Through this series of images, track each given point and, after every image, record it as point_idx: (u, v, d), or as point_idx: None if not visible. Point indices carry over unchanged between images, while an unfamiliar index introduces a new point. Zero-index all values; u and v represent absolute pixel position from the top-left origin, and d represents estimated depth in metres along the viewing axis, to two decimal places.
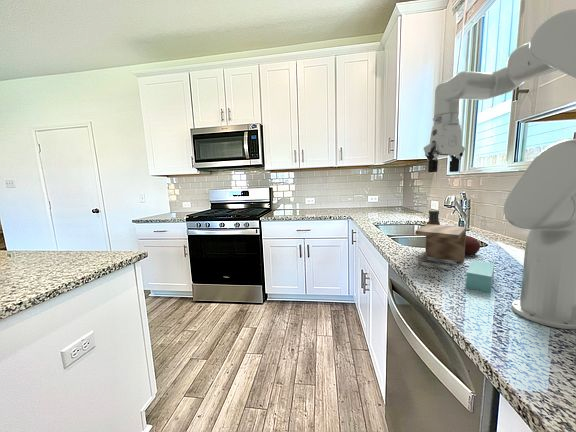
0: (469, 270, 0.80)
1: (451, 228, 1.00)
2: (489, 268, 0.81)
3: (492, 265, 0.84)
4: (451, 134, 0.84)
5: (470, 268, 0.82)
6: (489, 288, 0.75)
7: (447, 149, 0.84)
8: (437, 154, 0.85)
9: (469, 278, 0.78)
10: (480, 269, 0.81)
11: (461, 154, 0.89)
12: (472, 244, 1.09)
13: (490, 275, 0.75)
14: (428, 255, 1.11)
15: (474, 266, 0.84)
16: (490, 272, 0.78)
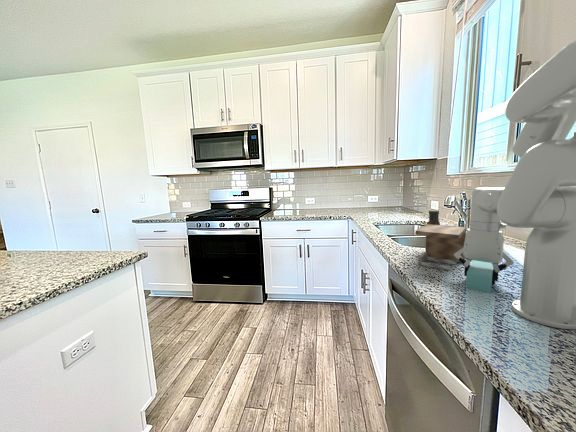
0: (469, 270, 0.80)
1: (451, 228, 1.00)
2: (489, 268, 0.81)
3: (492, 265, 0.84)
4: None
5: (470, 268, 0.82)
6: (489, 288, 0.75)
7: None
8: None
9: (469, 278, 0.78)
10: (480, 269, 0.81)
11: None
12: None
13: (490, 275, 0.75)
14: (428, 255, 1.11)
15: (474, 266, 0.84)
16: (490, 272, 0.78)
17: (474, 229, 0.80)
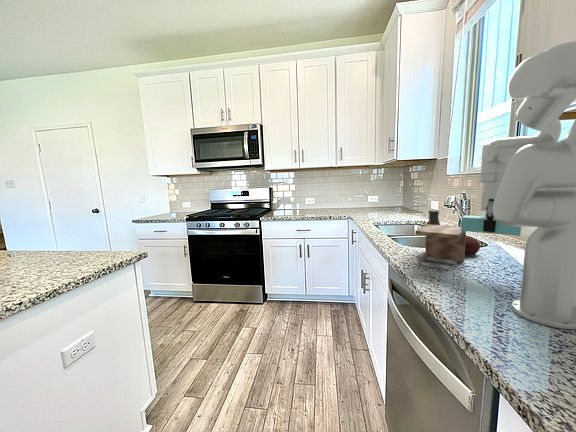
0: None
1: (451, 228, 1.00)
2: None
3: (475, 216, 0.94)
4: None
5: None
6: None
7: None
8: None
9: None
10: None
11: None
12: (472, 244, 1.09)
13: None
14: (428, 255, 1.11)
15: None
16: None
17: None
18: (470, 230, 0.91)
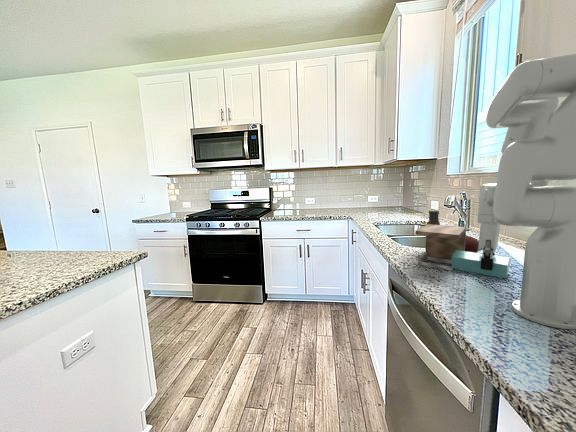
0: (498, 263, 0.86)
1: (451, 228, 1.00)
2: (479, 254, 0.93)
3: (466, 252, 0.97)
4: None
5: None
6: (508, 267, 0.89)
7: None
8: None
9: (507, 269, 0.85)
10: None
11: None
12: (472, 244, 1.09)
13: (505, 257, 0.89)
14: (428, 255, 1.11)
15: (478, 259, 0.91)
16: (494, 256, 0.91)
17: None
18: (460, 268, 0.95)
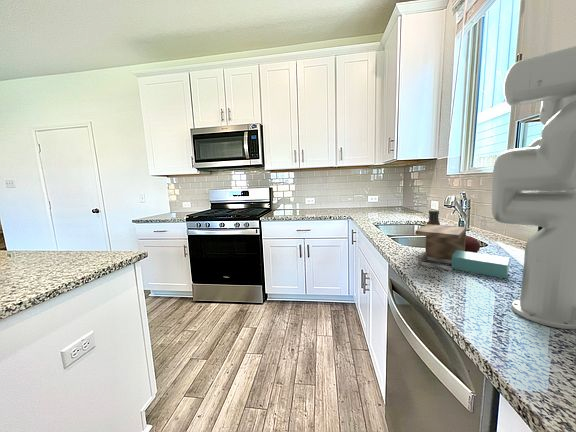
0: (498, 263, 0.86)
1: (451, 228, 1.00)
2: (479, 254, 0.93)
3: (466, 252, 0.97)
4: None
5: (489, 261, 0.88)
6: (508, 267, 0.89)
7: None
8: None
9: (507, 269, 0.85)
10: (488, 258, 0.90)
11: None
12: (472, 244, 1.09)
13: (505, 257, 0.89)
14: (428, 255, 1.11)
15: (478, 259, 0.91)
16: (494, 256, 0.91)
17: None
18: (460, 268, 0.95)
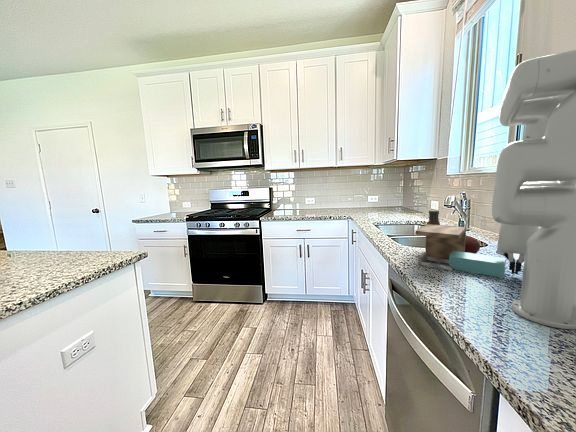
0: (495, 262, 0.87)
1: (451, 228, 1.00)
2: (476, 254, 0.94)
3: (463, 252, 0.97)
4: None
5: (486, 261, 0.88)
6: None
7: None
8: None
9: (504, 268, 0.86)
10: (485, 258, 0.91)
11: None
12: (472, 244, 1.09)
13: (502, 257, 0.89)
14: (428, 255, 1.11)
15: (476, 258, 0.91)
16: (491, 256, 0.91)
17: None
18: (457, 268, 0.95)
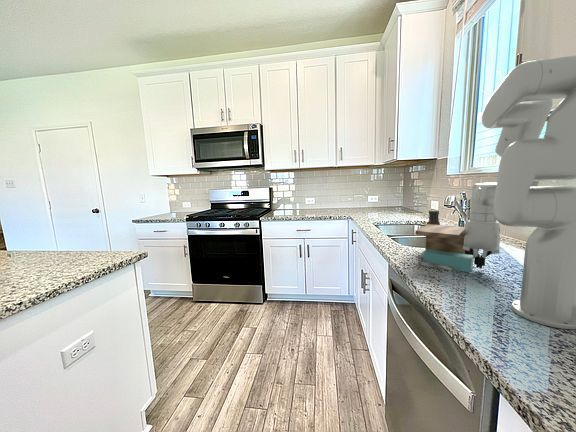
0: (463, 257, 0.93)
1: (451, 228, 1.00)
2: (447, 252, 1.01)
3: (436, 250, 1.04)
4: None
5: (455, 256, 0.95)
6: (472, 265, 0.96)
7: None
8: None
9: (471, 263, 0.92)
10: (454, 254, 0.97)
11: None
12: None
13: (470, 255, 0.96)
14: None
15: (446, 254, 0.97)
16: None
17: (473, 220, 0.90)
18: None
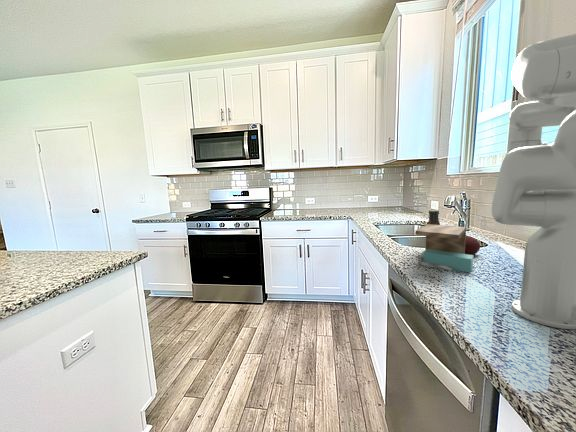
0: (463, 257, 0.93)
1: (451, 228, 1.00)
2: (447, 252, 1.01)
3: (436, 250, 1.04)
4: None
5: (455, 256, 0.95)
6: (472, 265, 0.96)
7: None
8: None
9: (471, 263, 0.92)
10: (454, 254, 0.97)
11: None
12: (472, 244, 1.09)
13: (470, 255, 0.96)
14: None
15: (446, 254, 0.97)
16: None
17: None
18: None
